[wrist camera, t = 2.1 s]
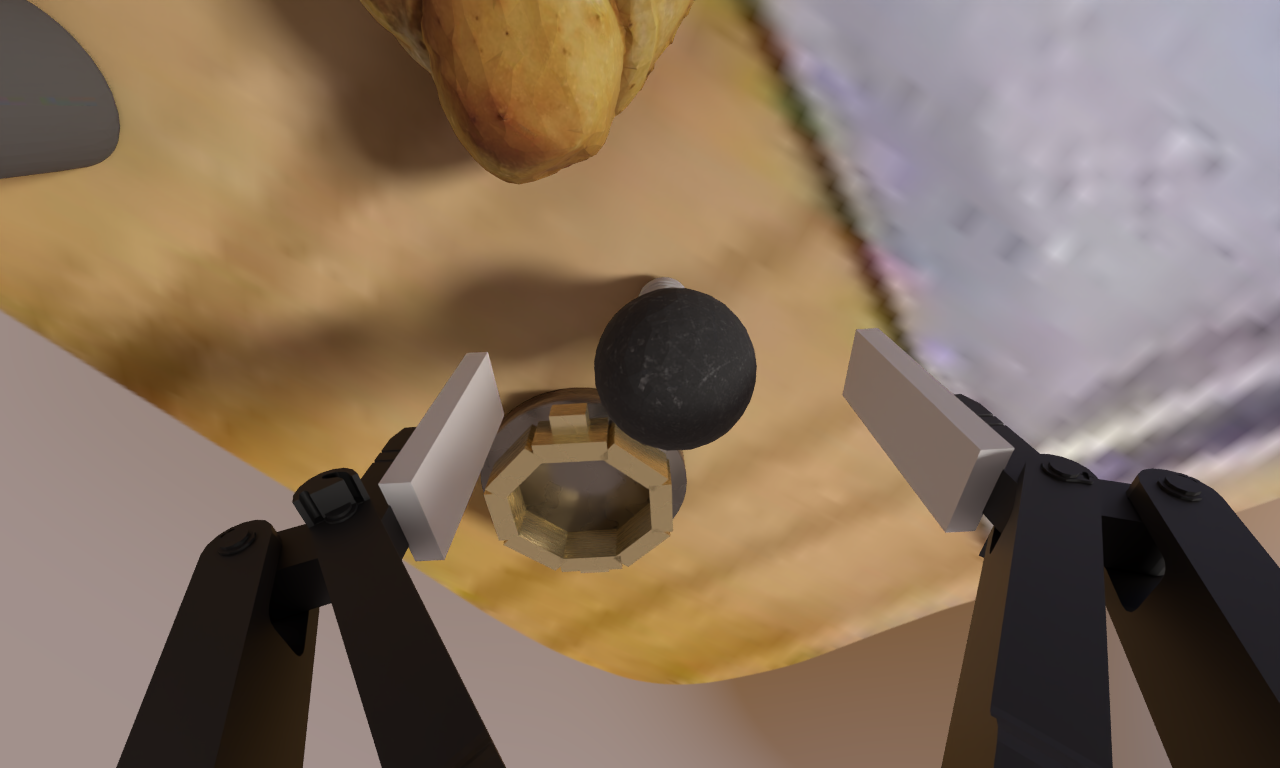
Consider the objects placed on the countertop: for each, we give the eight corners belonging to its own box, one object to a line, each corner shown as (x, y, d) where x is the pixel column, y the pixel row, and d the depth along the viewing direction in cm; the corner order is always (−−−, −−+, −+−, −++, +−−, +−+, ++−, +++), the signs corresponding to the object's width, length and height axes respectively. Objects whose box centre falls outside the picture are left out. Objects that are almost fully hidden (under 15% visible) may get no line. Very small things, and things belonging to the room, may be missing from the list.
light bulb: (583, 312, 22) (554, 442, 14) (645, 211, 20) (656, 295, 11) (676, 364, 24) (701, 509, 16) (744, 278, 21) (817, 393, 13)
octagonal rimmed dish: (463, 391, 25) (440, 431, 22) (683, 378, 24) (690, 416, 21) (511, 540, 31) (498, 587, 28) (684, 531, 31) (690, 577, 28)
